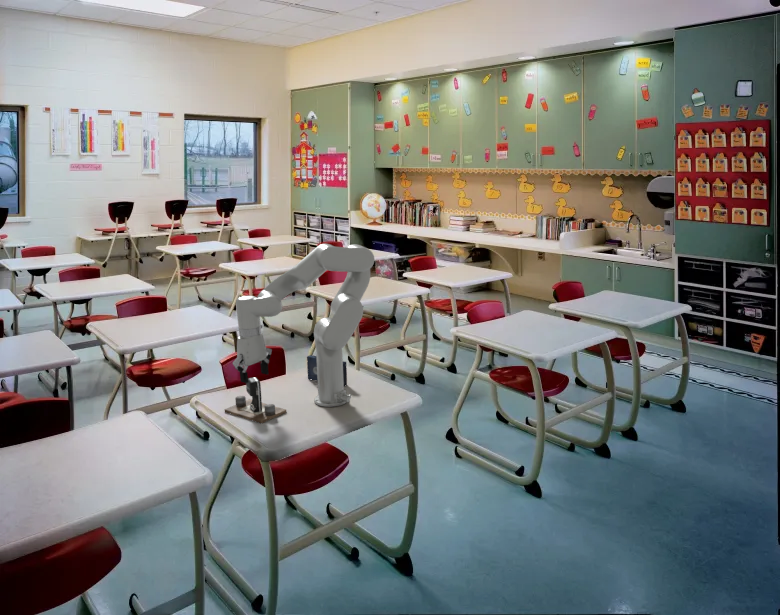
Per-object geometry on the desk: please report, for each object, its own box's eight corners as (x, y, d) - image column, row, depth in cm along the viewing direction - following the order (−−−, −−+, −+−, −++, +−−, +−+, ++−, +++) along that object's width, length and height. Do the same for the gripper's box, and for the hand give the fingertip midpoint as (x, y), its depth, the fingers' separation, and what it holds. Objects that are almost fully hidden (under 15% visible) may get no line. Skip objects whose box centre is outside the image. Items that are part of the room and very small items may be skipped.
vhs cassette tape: (347, 385, 255) (346, 361, 253) (343, 387, 253) (342, 363, 250) (312, 377, 265) (311, 354, 263) (307, 379, 262) (306, 356, 260)
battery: (246, 407, 231) (244, 377, 228) (257, 405, 232) (255, 375, 230) (252, 413, 224) (249, 383, 222) (262, 411, 226) (260, 381, 224)
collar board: (286, 412, 229) (285, 401, 228) (261, 423, 219) (261, 412, 218) (249, 401, 239) (249, 391, 238) (224, 412, 230) (223, 401, 229)
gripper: (260, 324, 231) (265, 369, 235) (223, 336, 218) (228, 383, 222) (275, 326, 227) (280, 372, 231) (238, 339, 214) (243, 387, 218)
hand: (255, 378), depth 226 cm, fingers open, 9 cm apart
